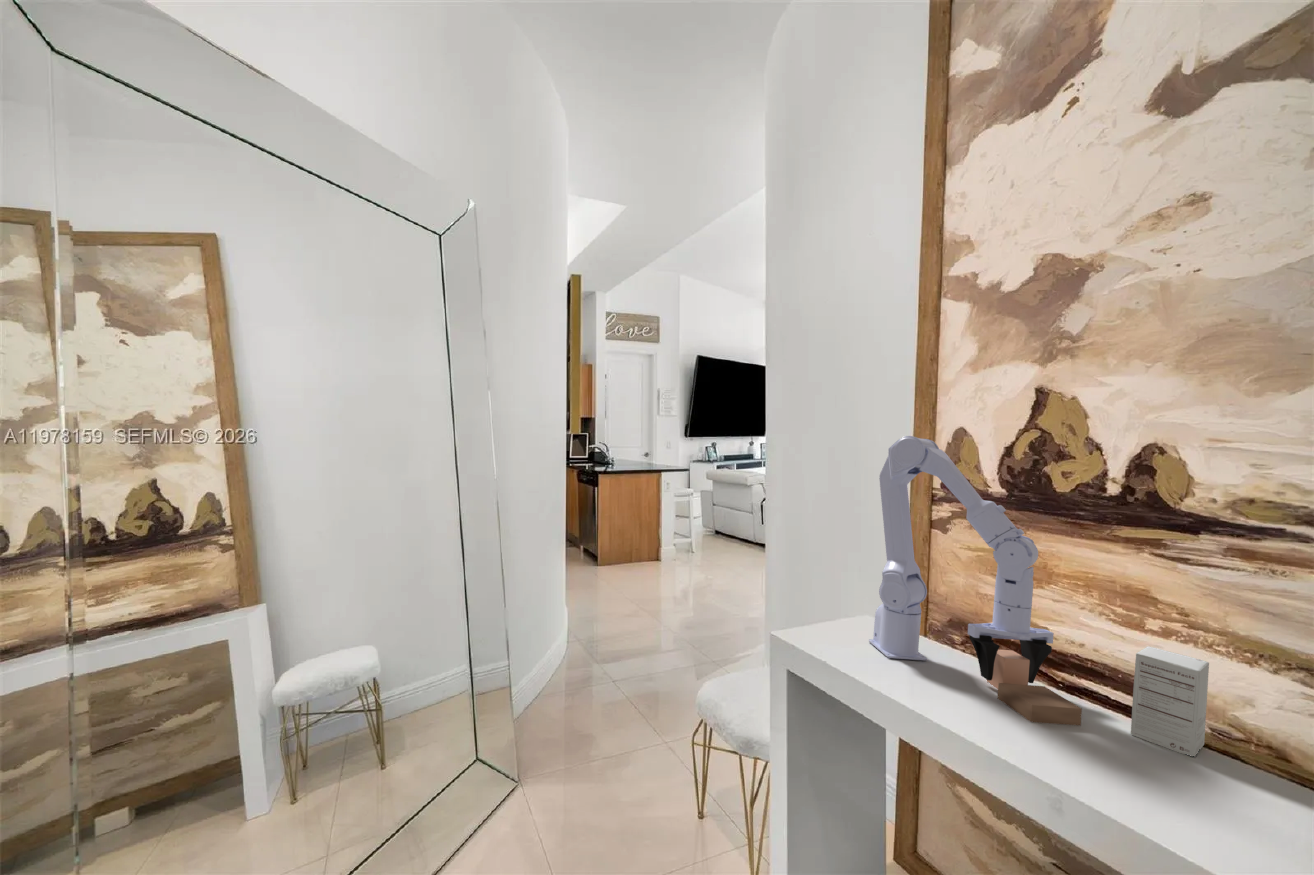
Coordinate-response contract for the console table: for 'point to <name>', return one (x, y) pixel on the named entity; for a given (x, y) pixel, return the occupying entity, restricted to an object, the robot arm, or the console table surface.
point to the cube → (1010, 668)
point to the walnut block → (1039, 704)
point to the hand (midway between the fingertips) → (1006, 679)
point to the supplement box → (1170, 700)
